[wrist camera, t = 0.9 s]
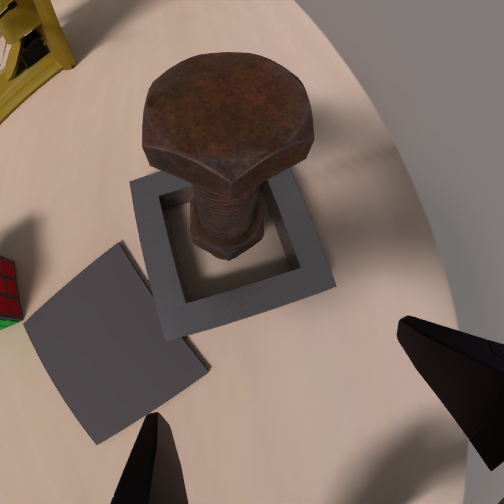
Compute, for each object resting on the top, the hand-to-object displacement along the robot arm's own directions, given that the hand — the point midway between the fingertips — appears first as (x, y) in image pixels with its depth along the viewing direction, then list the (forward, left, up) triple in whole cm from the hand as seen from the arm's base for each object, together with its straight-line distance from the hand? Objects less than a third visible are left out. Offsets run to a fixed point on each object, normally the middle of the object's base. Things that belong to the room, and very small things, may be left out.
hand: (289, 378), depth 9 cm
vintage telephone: (+50, +7, -12) cm, 52 cm away
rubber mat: (+7, +10, -12) cm, 17 cm away
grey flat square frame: (+8, -3, -12) cm, 15 cm away
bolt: (+8, -3, -12) cm, 15 cm away
